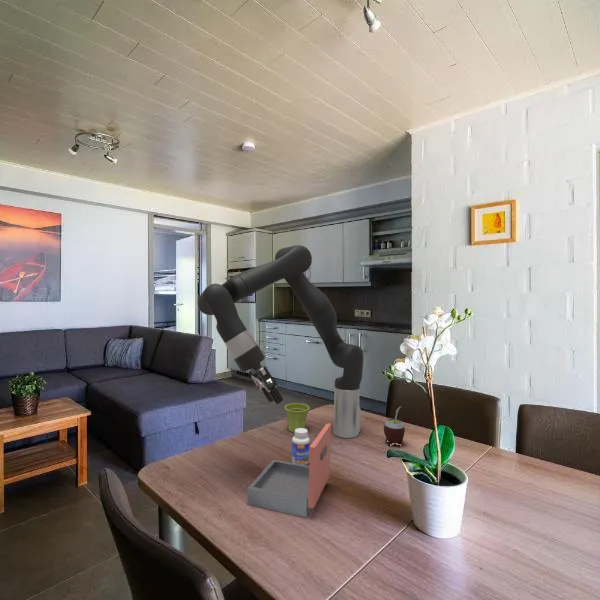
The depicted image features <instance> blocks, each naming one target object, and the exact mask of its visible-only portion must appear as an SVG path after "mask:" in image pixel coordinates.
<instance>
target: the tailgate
mask: <svg viewBox="0 0 600 600" xmlns="http://www.w3.org/2000/svg"><path fill="white" fill-rule="evenodd" d="M331 435H332V424H331V423H325V424H324V426H323V428H322V429H321V430H320V432H319V433H318V435H317V436H316V437H315V439H314V440H313V441H312V443H311V444H310V446H309V463H308V464H309V465H308V466H309V498H308V507H309V508H311V509H314V508H315V506H316V503H317V502H318V500H319V499H320V496H321V494H322V492H323V489H324V488H325V486H326V483H327V482H328V480H329V477H330V476H331V469H330V468H331V445H332V444H331V438H332V436H331Z"/></svg>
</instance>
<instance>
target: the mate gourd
mask: <svg viewBox="0 0 600 600" xmlns="http://www.w3.org/2000/svg"><path fill="white" fill-rule="evenodd" d="M401 408H402V406H401V405H400V406H399V407H397V409H396V410H395V416H394V418H388V419H386V420H385V422H384V426H383V433H384V436H385V440H388V441H389V443H388V445H390V444H392V443H398V444H403V440H404V436H405V432H406V431H405V430H406V428H405V424H404V422H403V421H402V420H400V419H397V417H398V414H399V410H400V409H401Z"/></svg>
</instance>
